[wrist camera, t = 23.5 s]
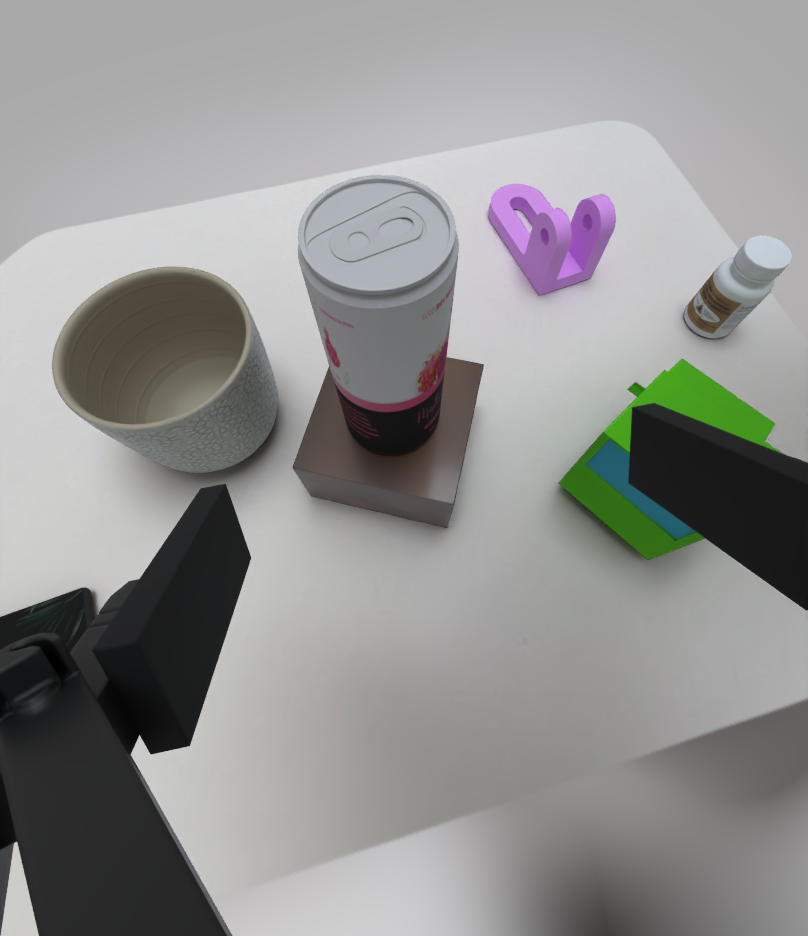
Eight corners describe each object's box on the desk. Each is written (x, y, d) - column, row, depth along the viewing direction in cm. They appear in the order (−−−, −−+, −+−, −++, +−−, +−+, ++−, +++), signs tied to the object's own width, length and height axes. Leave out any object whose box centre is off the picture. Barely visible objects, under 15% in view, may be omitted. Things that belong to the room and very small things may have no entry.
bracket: (590, 278, 44) (621, 213, 37) (539, 295, 43) (561, 233, 37) (527, 190, 48) (545, 119, 42) (479, 205, 48) (490, 135, 41)
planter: (123, 409, 39) (22, 325, 29) (249, 338, 42) (197, 238, 32) (186, 521, 35) (96, 469, 25) (321, 435, 38) (288, 357, 28)
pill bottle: (672, 309, 42) (726, 239, 35) (713, 295, 43) (774, 224, 36) (700, 346, 41) (762, 280, 33) (742, 331, 41) (812, 264, 34)
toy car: (749, 457, 37) (864, 391, 27) (652, 573, 33) (744, 543, 24) (642, 379, 39) (714, 296, 30) (543, 479, 36) (589, 420, 27)
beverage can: (455, 434, 31) (490, 258, 17) (367, 471, 30) (329, 318, 16) (414, 361, 33) (416, 153, 19) (331, 394, 32) (271, 201, 19)
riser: (473, 405, 39) (483, 364, 33) (447, 527, 35) (453, 504, 29) (349, 380, 40) (339, 336, 34) (310, 496, 36) (292, 467, 30)
